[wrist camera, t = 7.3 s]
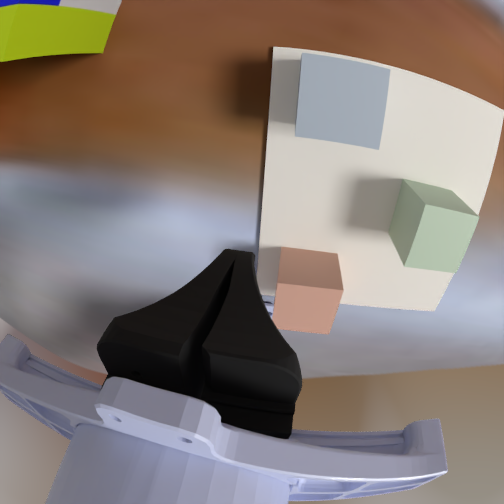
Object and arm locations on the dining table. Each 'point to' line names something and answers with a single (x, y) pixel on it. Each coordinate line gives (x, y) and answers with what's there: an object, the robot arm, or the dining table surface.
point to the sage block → (431, 227)
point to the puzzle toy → (54, 27)
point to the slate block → (341, 100)
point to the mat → (370, 182)
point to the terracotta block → (307, 290)
